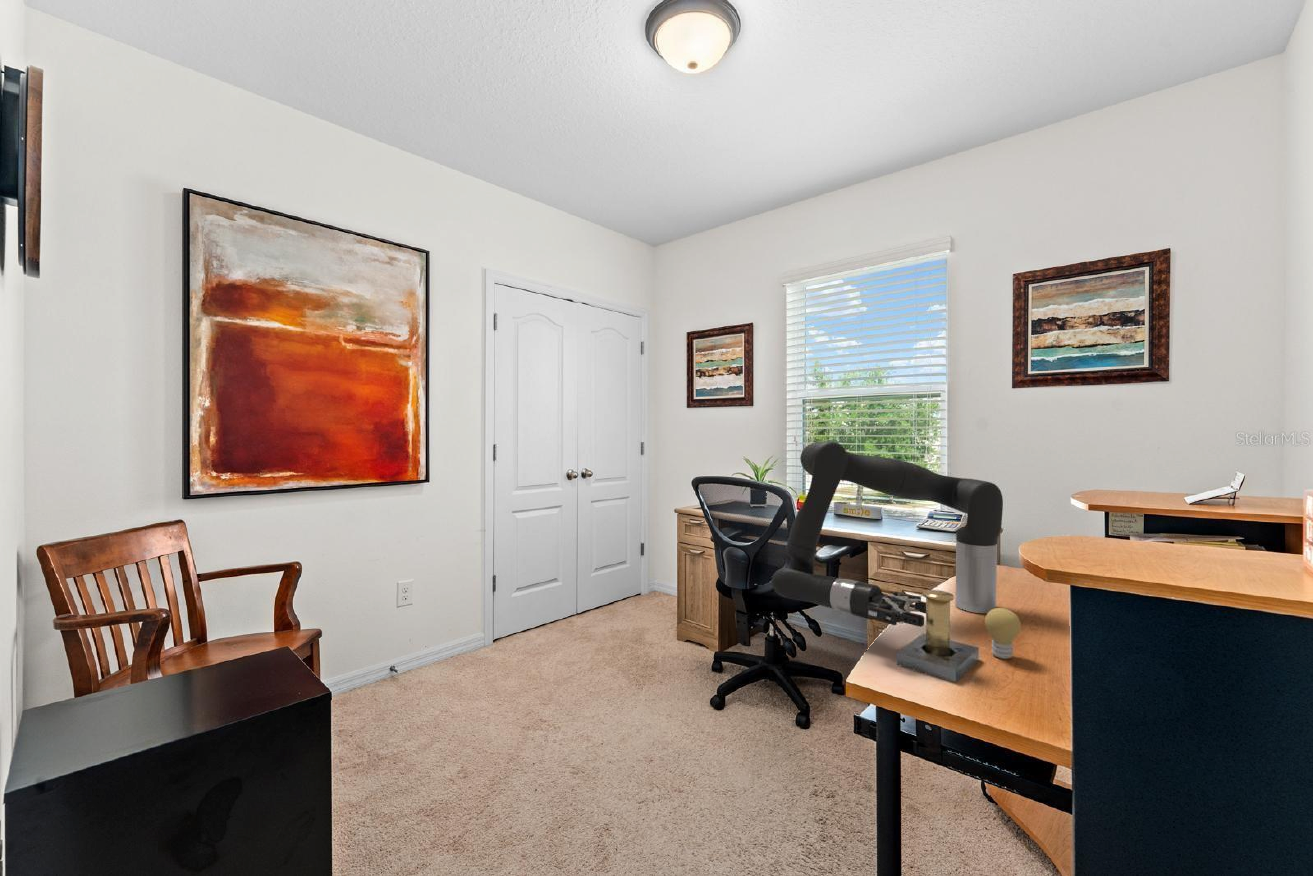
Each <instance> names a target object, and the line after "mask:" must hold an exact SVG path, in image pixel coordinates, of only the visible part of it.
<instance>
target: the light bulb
mask: <svg viewBox="0 0 1313 876" xmlns="http://www.w3.org/2000/svg"><path fill="white" fill-rule="evenodd" d="M984 625H985V628H986V631H987V632H988V633H989V635H990V636H991V637H992V639H991V653H992V655H994V657H997V658H999V659H1003V660H1008V659H1011V658H1013V656H1014V653H1013V651H1014V649H1013V647H1014V643H1013V641H1014V640H1015V639H1016V638H1017V637H1018V636H1019V634H1020V632H1021V629H1022V623H1021V621H1020V618H1019V617H1018V615H1017V614H1016V613H1014V612H1013V611H1012V610H1009V609H1008V608H1004V607H996V608H995V609H992V610H990V611H989V612H988V613H986V615H985V618H984Z"/></svg>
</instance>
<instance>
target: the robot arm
mask: <svg viewBox="0 0 1313 876" xmlns="http://www.w3.org/2000/svg"><path fill="white" fill-rule="evenodd" d="M800 463H801V467H802V468H803V470H804V471H805V472H806V473H807V474H808V475H810V476H811V482H810V486H809V489H808V491H807V494H806V496H805V499H804V500H803V503H802V505H801V507H800V508H799V509H798V512H797V514H796V516H795V517H794V520H793V522H792V525H791V528H790V531H789V535H788V539H787V542H786V547H785V552H786V555H787V556H788V557H790V558H789V559H790V560H789V567H783V568H779V569H778V570H776V571H775V572H774V573H773V575H772V577H771V587H772V589H773V590H774V592H775V593H776V594H777V595H779V596H781V597H783V598H786V599H789V600H795V601H802V602H808V603H812V604H815V605H819V606H821V607H825V608H829V609H833V610H836V611H839V612H841V613H844V614H847V615H852V616H856V617H859V618H863V619H867V620H871V621H873V620H874V621H876V622H881V623H885V624H888V625H892V626H896V625H897V624H907V625H912V626H916V627H919V628H922V627H924V626H925V616H924V615H922V614H926V601H922V597H921V596H918V595H913V594H908V593H903V592H897V591H893V592H892V594H887V595H885V594H884V593H883V592H882V589H881V587H880V585H876V584H874V583H873V584H871V583H867V582H863V581H858V580H853V579H848V578H839V577H833V576H831V575H830V576H829V575H825V574H822V575H821V574H815V556H816V555H815V554H816V552H817V548H818V544H819V540H820V537H821V533H822V529H823V526H824V522H825V520H826V516H827V514H828V512H829V508H830V506H831V503H832V501H833V499H834V496H835V494H836V491H837V488H838V487H839V485H840V482H841V481H843V482H844V481H845V482H849V483H852V484H856V485H858V486H860V487H864V488H866V489H870V490H872V491H875V492H878V493H882V494H885V495H889V496H894V497H897V498H900V499H906V500H912V501H928V502H934V503H937V504H940V505H942V506H946V507H949V508H951V509H954V510H956V511H958V512H961V513H964V514H966V525H965V526H964V527H963V526H962V527H960V528H958V529H957V530H956V532H955V597H954V598H955V603H954V604H955V605H954V606H956V607H957V608H958V609H960V610H962V609H963V610H962V611H965V610H966V612H969V613H975V614H976V613H977V614H987V613H988V612H989V611H990V610H992V609H995V608H997V582H998V581H997V579H998V573H997V572H998V571H997V570H998V538H999V536H1000V534H1001V531H1002V523H1003V522H1002V521H1003V510H1004V508H1003V507H1004V501H1003V494H1002V491H1001V489H1000V488H999V486H998V485H996V484H995V483H993V482H991V481H986V480H980V479H976V478H975V479H974V478H964V477H955V476H950V475H949V476H948V475H942V474H939V473H936V472H933V471H932V470H929V469H928V468H925V467H923V466H921V465H919V464H916V463H912V462H909V461H904V460H901V459H896V458H891V457H886V456H875V455H866V454H865V455H863V454H857V453H854V452H853V453H852V452H849V451H846V449H845V447H844V446H843V444H841V443H838V442H836V441H829V440H828V441H827V440H825V441H814V442H812V443H810V444H808V445H807V446H805V447H804V448H803V450H802V451H801V454H800ZM913 603H914V604H913ZM913 612H915V613H913ZM919 613H922V614H919Z"/></svg>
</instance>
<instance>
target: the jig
mask: <svg viewBox="0 0 1313 876" xmlns="http://www.w3.org/2000/svg"><path fill="white" fill-rule="evenodd" d="M979 650H980V648H979V647H978V646H974V645H970V644H966V643H964V642H963V643H962V642H958V641H955V640H951V639H950V656H944V657H939V656H936V655H932V654H929V653H926V633H924V632H923V633H922V634H920V635H919V636H917V637H916V638H914V639H913V640H912V641H910V642H909V643H908V644H907V645H905V646H903V648H901V649H900V650H899V651H897V652H896V665H897V666H899V665H901V666H900V667H902V666H904V667H903V668H905V667H906V669H909V668H911V669H910V670H912V669H915V670H917V671H916V672H918V671H920V672H919V673H921V674H925V673H927V674H926V675H928V674H929V675H928V676H931V675H932V676H931V677H934V678H938V679H941V678H942V680H945V681H948V682H951V683H954V682H955V683H954V684H956V683H957V682H958V681H959V680H960V679H961V678H963V676H964V675H965V674H966V673H967V672H968V671H969V670H970V669H971V668H972V667H973V666H975V664H977V662H978V661H979V660H978V659H980V655H979V654H980V651H979ZM915 670H914V671H915Z"/></svg>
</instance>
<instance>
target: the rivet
mask: <svg viewBox="0 0 1313 876" xmlns="http://www.w3.org/2000/svg"><path fill="white" fill-rule="evenodd" d="M922 596H923V598H925V602H926V613H925V634H926V653H929V654H932V655H936V656H939V657H944V656H950V640H951V601H953V600H954V598H955V597H954V594H952V593H951V592H948V591H944V590H940V589H939V590H938V589H927V590H923V592H922Z"/></svg>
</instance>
